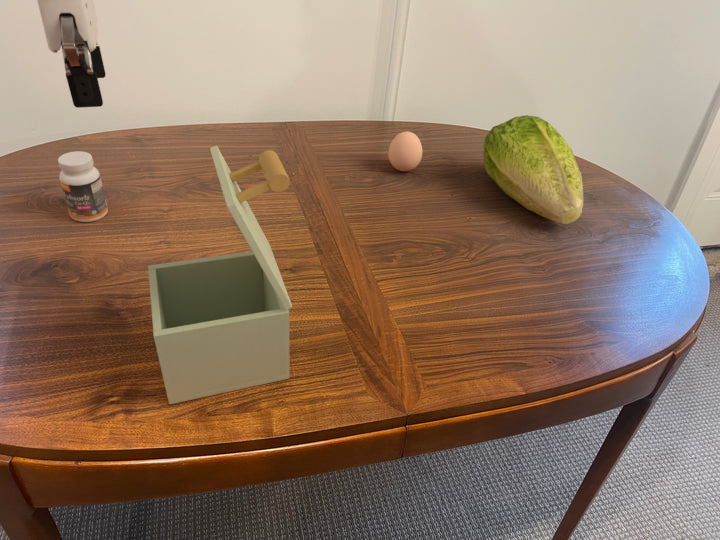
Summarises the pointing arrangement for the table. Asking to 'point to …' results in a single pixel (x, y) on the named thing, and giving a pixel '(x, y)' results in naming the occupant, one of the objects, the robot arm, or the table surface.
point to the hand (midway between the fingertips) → (91, 91)
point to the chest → (217, 326)
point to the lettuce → (535, 168)
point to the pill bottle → (82, 187)
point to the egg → (405, 151)
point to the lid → (244, 214)
